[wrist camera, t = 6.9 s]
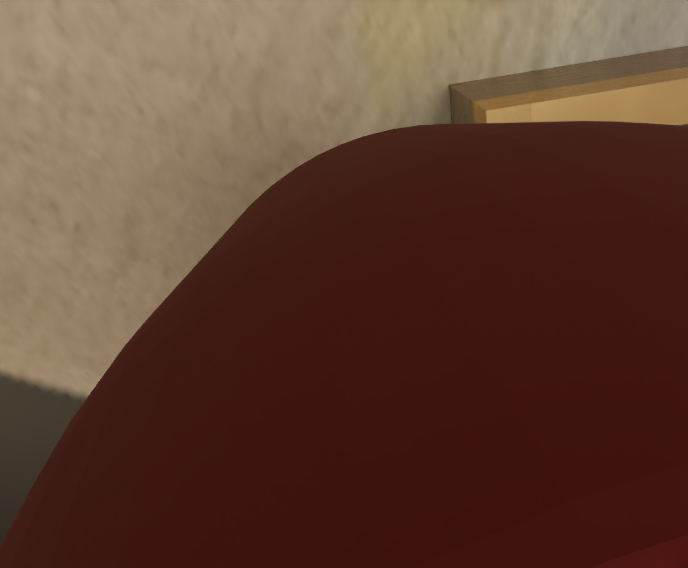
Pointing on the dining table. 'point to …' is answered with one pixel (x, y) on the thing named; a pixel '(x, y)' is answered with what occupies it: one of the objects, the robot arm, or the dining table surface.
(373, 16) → the dining table surface
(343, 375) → the mug
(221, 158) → the dining table surface
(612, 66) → the shallow drawer tray
